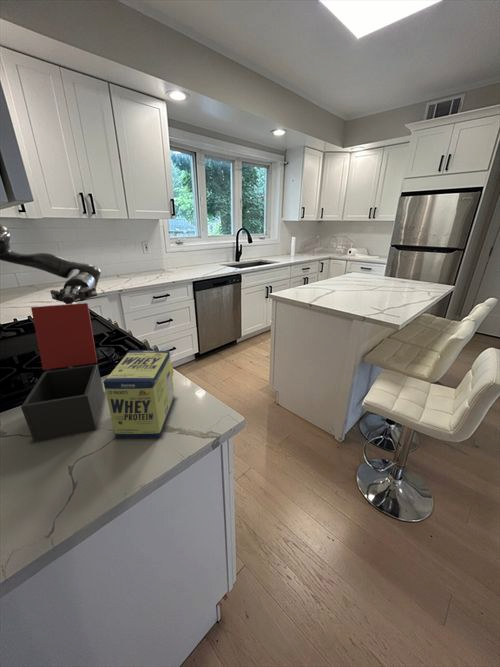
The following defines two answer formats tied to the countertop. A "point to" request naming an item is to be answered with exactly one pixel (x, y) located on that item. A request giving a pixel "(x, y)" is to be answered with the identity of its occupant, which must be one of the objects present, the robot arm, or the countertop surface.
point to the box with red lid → (64, 402)
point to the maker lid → (64, 335)
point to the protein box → (140, 394)
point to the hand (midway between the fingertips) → (67, 300)
